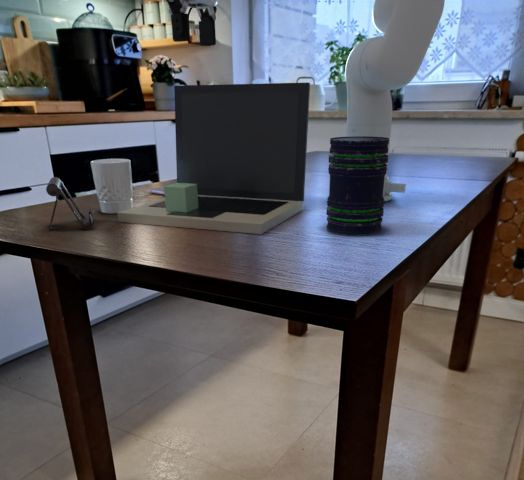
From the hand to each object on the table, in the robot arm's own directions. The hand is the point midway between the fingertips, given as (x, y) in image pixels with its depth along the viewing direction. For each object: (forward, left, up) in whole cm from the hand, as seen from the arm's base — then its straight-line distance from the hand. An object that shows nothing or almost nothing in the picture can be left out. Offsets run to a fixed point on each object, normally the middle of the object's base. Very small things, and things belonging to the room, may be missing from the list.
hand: (195, 43), depth 95 cm
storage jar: (-33, +6, -31) cm, 45 cm away
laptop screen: (-4, -8, -18) cm, 20 cm away
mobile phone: (+16, -16, -30) cm, 38 cm away
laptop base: (-4, +4, -30) cm, 31 cm away
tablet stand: (+17, +21, -31) cm, 41 cm away
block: (0, +9, -28) cm, 30 cm away
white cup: (+18, +6, -31) cm, 36 cm away
